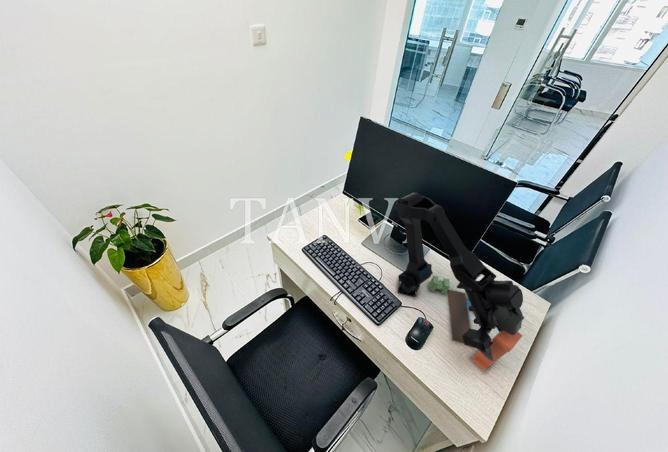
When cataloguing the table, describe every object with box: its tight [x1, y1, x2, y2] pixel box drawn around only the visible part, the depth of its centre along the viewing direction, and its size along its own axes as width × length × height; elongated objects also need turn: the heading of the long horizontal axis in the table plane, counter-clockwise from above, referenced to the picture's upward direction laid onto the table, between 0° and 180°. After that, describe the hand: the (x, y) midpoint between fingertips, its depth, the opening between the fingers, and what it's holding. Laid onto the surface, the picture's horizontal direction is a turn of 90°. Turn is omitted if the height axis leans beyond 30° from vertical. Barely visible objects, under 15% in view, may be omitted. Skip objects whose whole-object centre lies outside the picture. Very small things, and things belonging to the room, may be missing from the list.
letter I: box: [471, 330, 523, 372], centre depth 74 cm, size 4×6×16 cm, turn 127°
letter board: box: [447, 289, 471, 344], centre depth 89 cm, size 6×20×1 cm, turn 165°
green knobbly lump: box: [429, 275, 451, 295], centre depth 96 cm, size 4×6×5 cm, turn 75°
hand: (499, 350), depth 73 cm, fingers open, 9 cm apart
